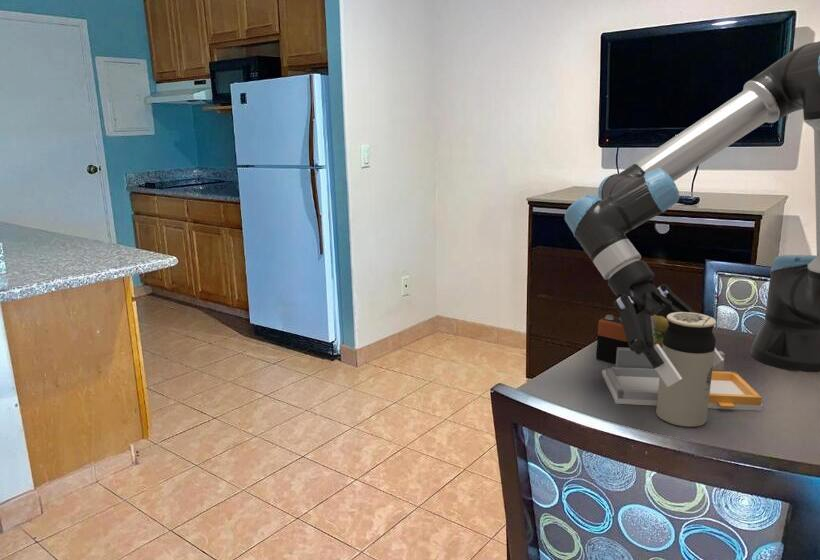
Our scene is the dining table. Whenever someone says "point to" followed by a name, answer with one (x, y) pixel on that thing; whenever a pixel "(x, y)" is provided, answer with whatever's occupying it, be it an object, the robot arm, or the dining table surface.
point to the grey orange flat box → (641, 383)
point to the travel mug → (687, 369)
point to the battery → (610, 338)
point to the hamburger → (659, 329)
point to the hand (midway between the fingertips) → (696, 373)
